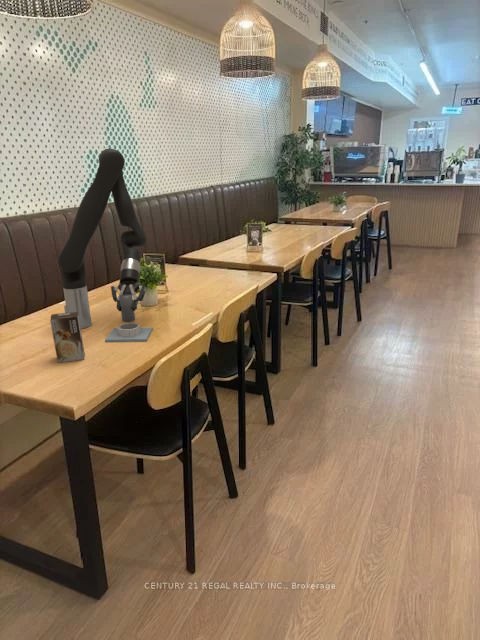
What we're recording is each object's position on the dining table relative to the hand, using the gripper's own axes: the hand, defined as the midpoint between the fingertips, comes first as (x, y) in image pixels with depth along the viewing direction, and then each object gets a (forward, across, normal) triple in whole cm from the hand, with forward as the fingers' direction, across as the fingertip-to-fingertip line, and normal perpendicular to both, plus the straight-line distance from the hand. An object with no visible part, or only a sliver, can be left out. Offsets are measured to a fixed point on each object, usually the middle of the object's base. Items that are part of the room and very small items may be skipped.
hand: (126, 310), depth 179 cm
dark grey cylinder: (+2, 0, +4) cm, 5 cm away
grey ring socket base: (+7, 0, +9) cm, 11 cm away
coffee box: (+22, -16, -6) cm, 28 cm away
